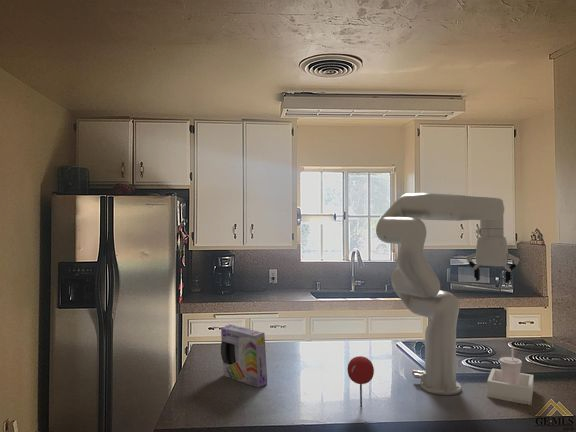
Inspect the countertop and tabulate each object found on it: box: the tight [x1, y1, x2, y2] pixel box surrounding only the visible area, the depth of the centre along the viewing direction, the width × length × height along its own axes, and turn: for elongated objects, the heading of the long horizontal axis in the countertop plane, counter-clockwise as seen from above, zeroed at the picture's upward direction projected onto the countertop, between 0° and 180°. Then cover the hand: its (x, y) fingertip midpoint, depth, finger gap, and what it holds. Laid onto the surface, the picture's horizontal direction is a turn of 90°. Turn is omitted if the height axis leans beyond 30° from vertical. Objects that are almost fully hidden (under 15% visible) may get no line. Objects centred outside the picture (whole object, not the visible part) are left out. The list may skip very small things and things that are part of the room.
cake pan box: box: [220, 324, 268, 388], centre depth 155 cm, size 19×5×18 cm, turn 47°
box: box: [486, 368, 535, 406], centre depth 142 cm, size 12×12×5 cm
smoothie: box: [498, 346, 523, 385], centre depth 141 cm, size 6×6×14 cm
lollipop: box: [347, 355, 375, 408], centre depth 133 cm, size 8×8×15 cm
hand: (492, 281), depth 161 cm, fingers open, 9 cm apart
